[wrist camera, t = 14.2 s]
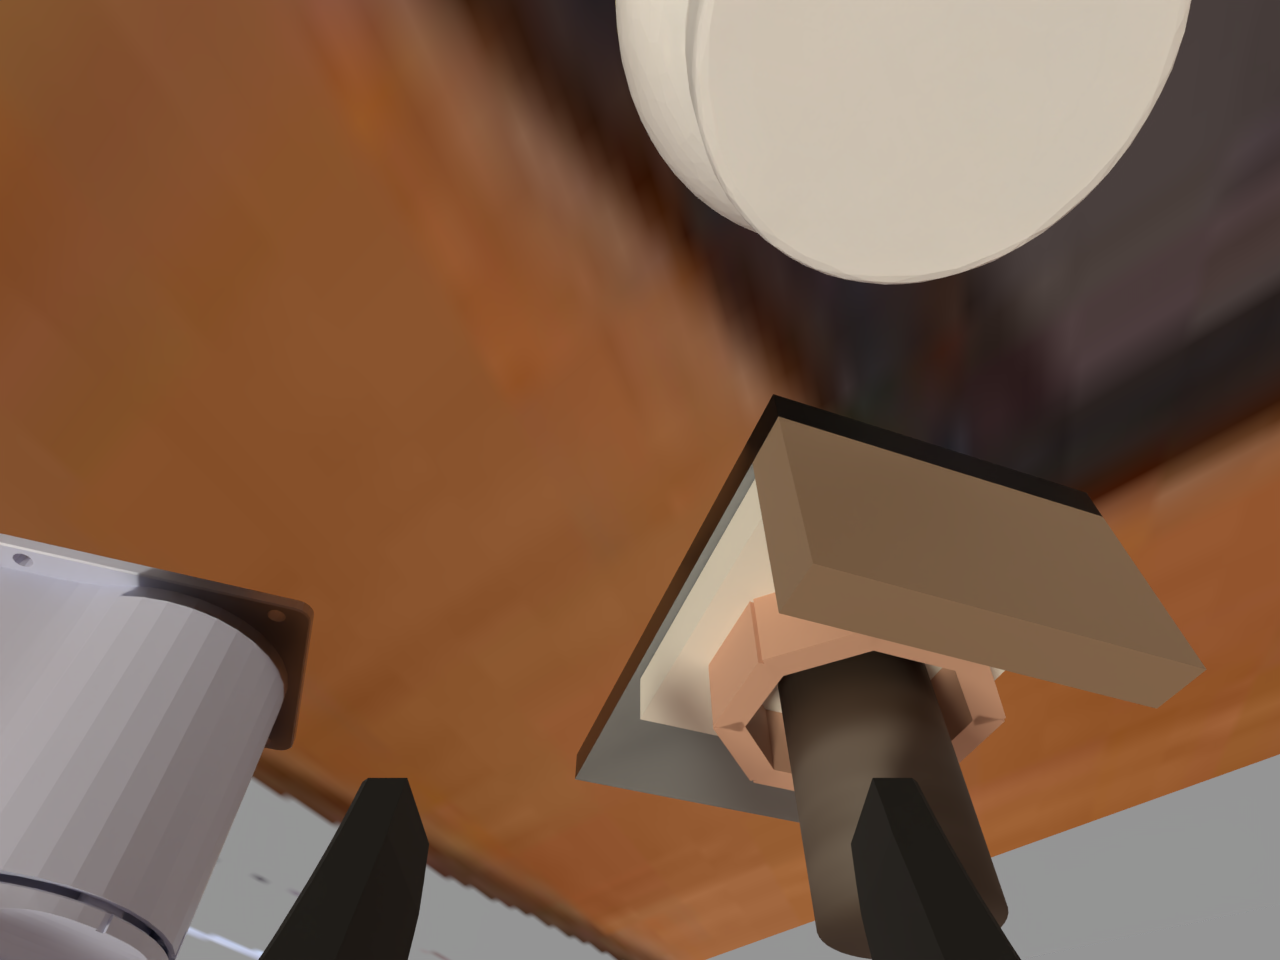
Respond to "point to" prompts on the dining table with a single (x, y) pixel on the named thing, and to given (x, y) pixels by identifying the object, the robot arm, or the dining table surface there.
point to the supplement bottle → (896, 117)
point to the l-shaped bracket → (902, 586)
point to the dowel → (854, 754)
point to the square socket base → (777, 661)
